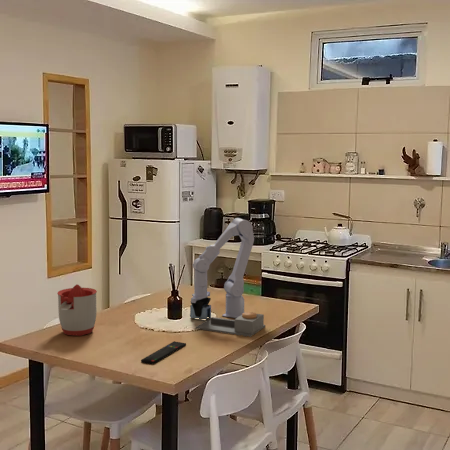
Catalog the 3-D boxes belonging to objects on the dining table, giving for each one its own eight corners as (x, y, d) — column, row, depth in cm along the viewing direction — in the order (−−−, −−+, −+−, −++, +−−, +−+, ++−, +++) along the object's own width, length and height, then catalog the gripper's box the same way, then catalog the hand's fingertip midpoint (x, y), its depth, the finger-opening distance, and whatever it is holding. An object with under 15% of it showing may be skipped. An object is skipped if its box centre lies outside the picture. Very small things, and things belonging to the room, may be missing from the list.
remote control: (186, 346, 240) (186, 343, 240) (153, 366, 218) (153, 362, 218) (174, 344, 242) (174, 341, 242) (140, 364, 220) (140, 360, 220)
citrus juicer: (47, 336, 249) (46, 287, 247) (72, 325, 265) (71, 279, 263) (81, 341, 244) (80, 291, 241) (104, 329, 260) (103, 282, 257)
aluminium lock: (195, 315, 281) (195, 301, 280) (211, 318, 278) (211, 303, 277) (190, 318, 277) (190, 303, 276) (206, 320, 273) (206, 306, 273)
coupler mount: (212, 319, 276) (212, 303, 275) (265, 326, 265) (265, 310, 264) (195, 328, 261) (195, 312, 261) (250, 336, 251) (250, 320, 250)
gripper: (200, 281, 284) (200, 310, 285) (184, 287, 271) (184, 318, 272) (214, 282, 281) (214, 312, 282) (199, 289, 268) (199, 320, 269)
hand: (200, 315), depth 277 cm, fingers closed on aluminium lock, 5 cm apart
